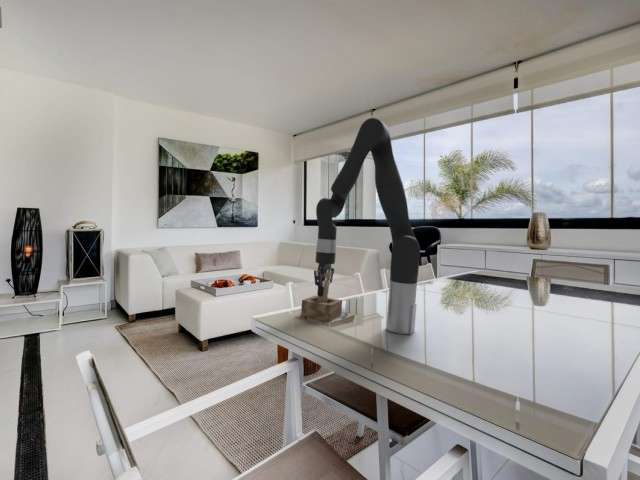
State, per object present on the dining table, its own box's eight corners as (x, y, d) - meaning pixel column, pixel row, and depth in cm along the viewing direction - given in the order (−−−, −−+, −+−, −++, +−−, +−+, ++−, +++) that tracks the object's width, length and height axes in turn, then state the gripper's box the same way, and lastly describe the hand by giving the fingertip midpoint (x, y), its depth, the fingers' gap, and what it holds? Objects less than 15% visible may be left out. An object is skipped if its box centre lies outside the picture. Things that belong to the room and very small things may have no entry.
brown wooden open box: (341, 315, 131) (342, 300, 131) (329, 321, 121) (330, 305, 121) (314, 310, 136) (315, 295, 136) (301, 315, 127) (302, 300, 126)
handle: (321, 313, 125) (324, 273, 124) (311, 309, 130) (314, 270, 129) (331, 312, 127) (334, 273, 127) (321, 307, 133) (324, 270, 132)
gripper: (327, 252, 120) (323, 300, 120) (342, 251, 132) (338, 294, 133) (308, 250, 123) (305, 296, 124) (325, 249, 136) (322, 291, 136)
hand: (322, 295), depth 128 cm, fingers closed on handle, 3 cm apart
